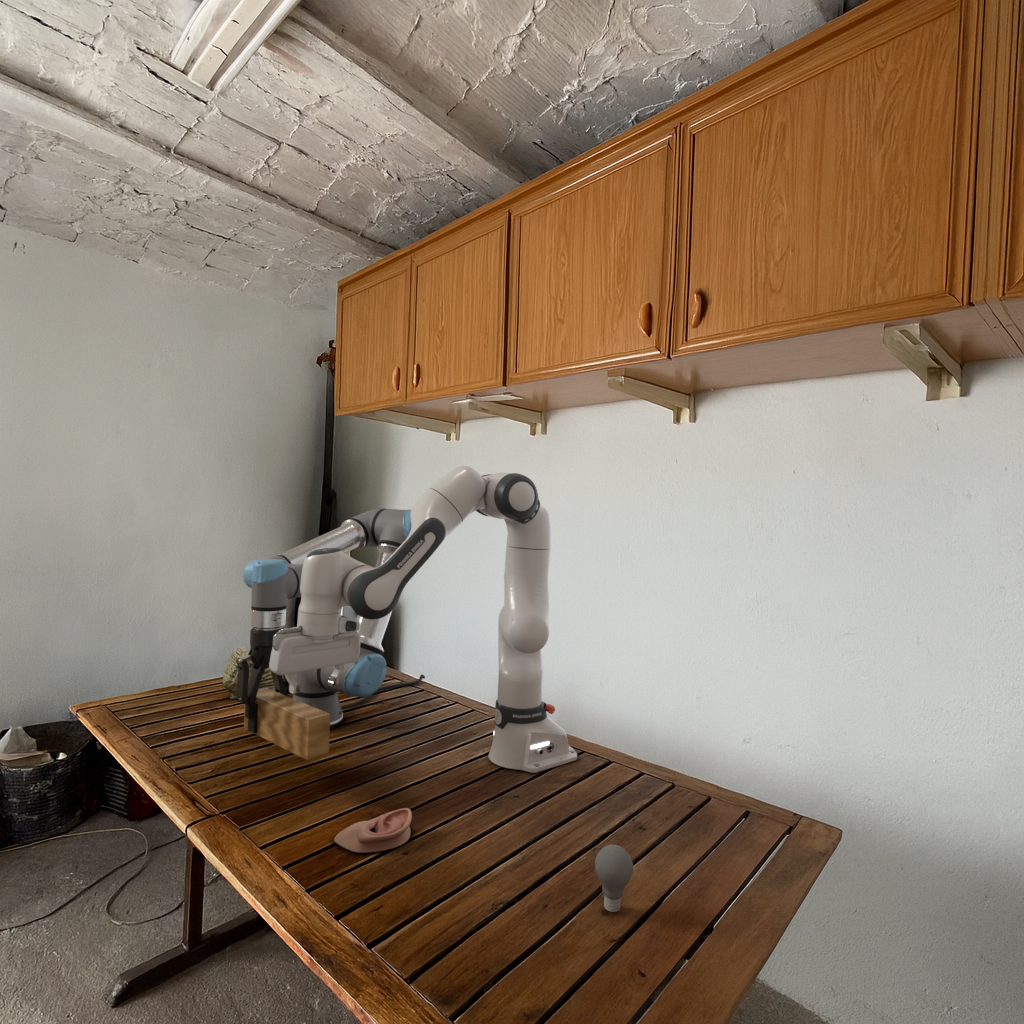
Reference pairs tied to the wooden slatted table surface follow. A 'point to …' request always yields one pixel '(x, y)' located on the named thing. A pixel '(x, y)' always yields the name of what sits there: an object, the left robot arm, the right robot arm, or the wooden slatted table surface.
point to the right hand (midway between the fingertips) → (314, 688)
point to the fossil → (232, 673)
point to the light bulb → (613, 874)
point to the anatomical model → (377, 832)
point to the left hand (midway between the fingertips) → (264, 727)
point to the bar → (292, 724)
